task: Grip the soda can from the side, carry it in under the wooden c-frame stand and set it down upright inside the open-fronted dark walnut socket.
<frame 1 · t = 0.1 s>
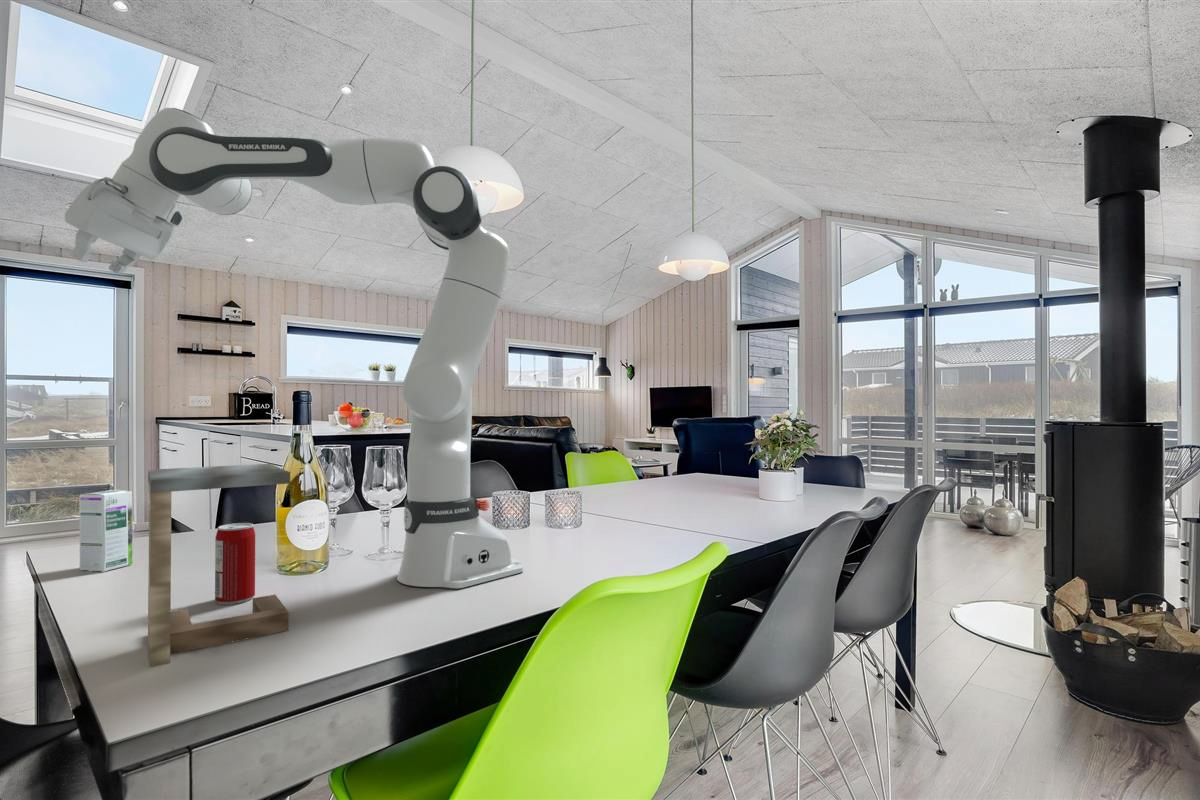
hand: (97, 266, 103), 54 cm above the table, tool tilted 30°, fingers open, 8 cm apart
wooden c-frame stand: (223, 627, 86), on the table
syrup box: (105, 568, 117), on the table
socket: (223, 627, 86), on the table
soda can: (235, 600, 98), on the table
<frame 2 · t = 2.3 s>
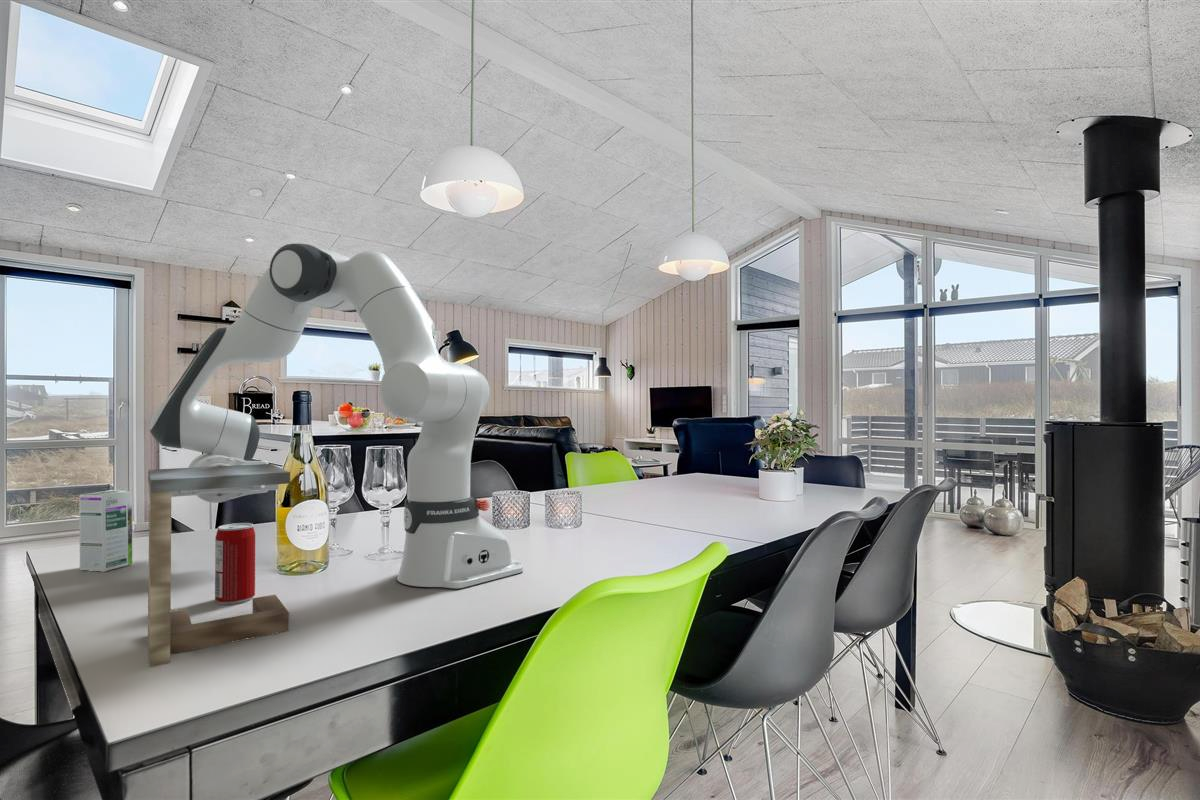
hand: (226, 486, 108), 17 cm above the table, tool horizontal, fingers open, 8 cm apart
nothing on the table moved.
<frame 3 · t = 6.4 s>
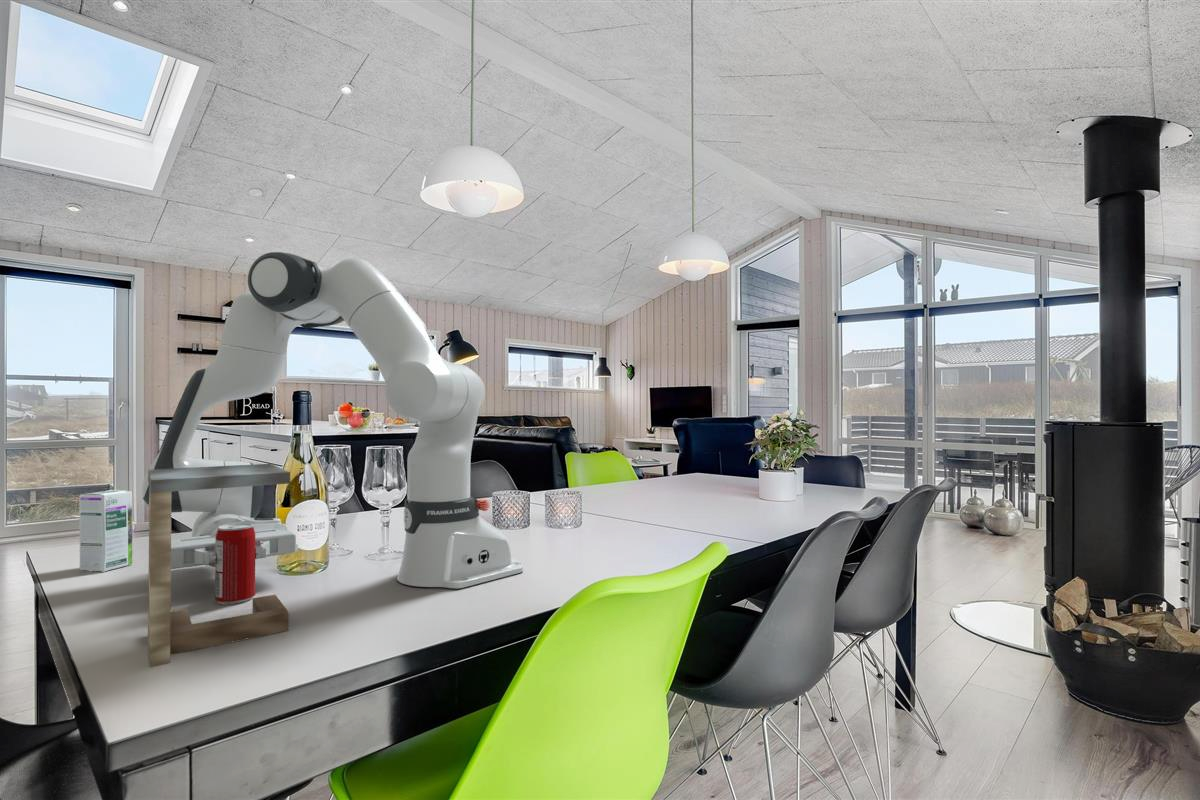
hand: (236, 556, 97), 7 cm above the table, tool horizontal, fingers closed on soda can, 5 cm apart
soda can: (235, 600, 98), on the table, touching gripper
everything else where it was.
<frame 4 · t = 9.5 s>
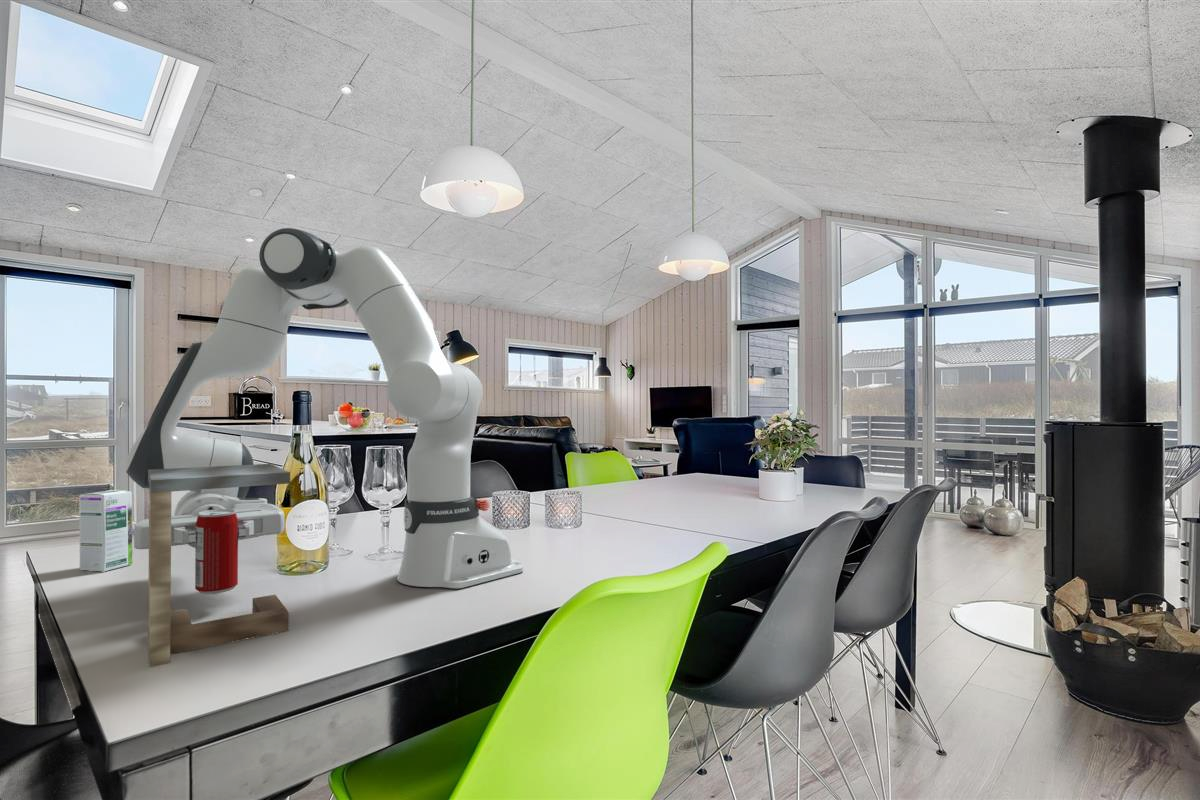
hand: (217, 535, 93), 11 cm above the table, tool horizontal, fingers closed on soda can, 5 cm apart
soda can: (216, 590, 94), point 3 cm above the table, touching gripper
everything else where it was.
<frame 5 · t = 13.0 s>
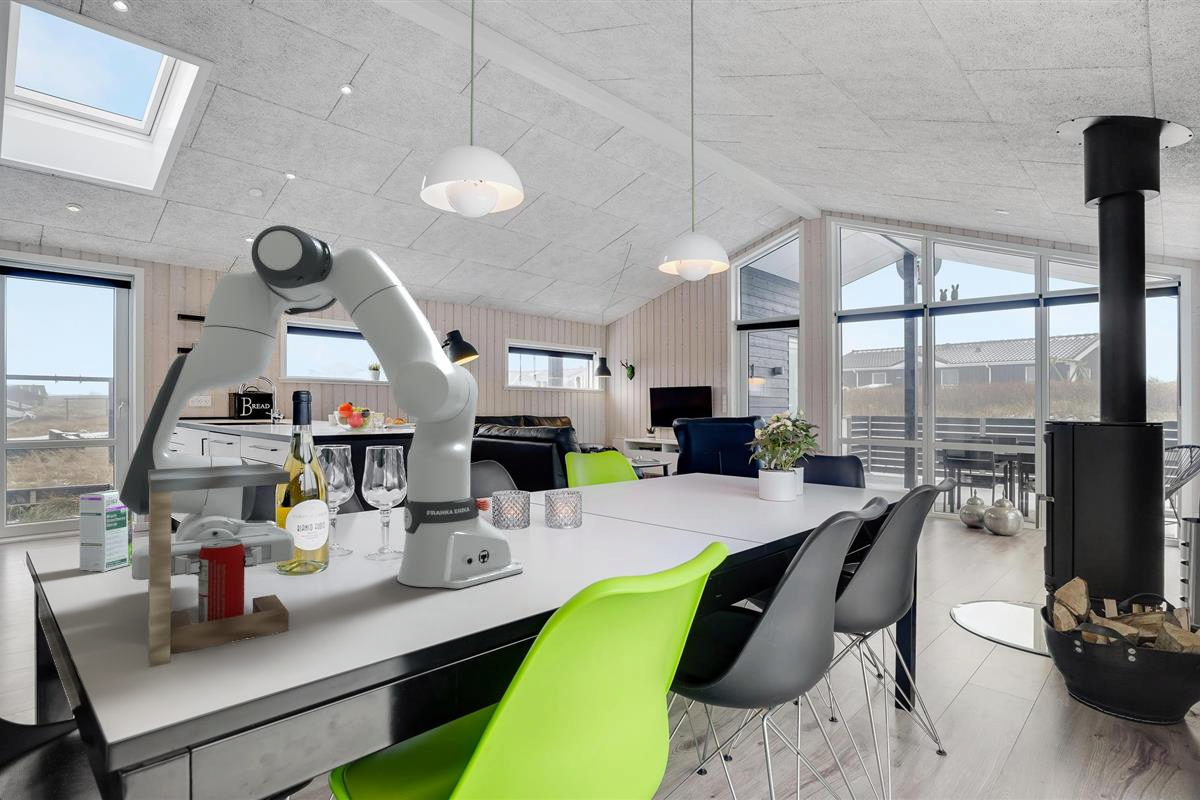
hand: (223, 564, 85), 9 cm above the table, tool horizontal, fingers closed on soda can, 5 cm apart
soda can: (221, 627, 86), on the table, touching gripper
everything else where it was.
when the fingers open (9 cm above the table, at t = 13.5 s): soda can stays where it is, on the table.
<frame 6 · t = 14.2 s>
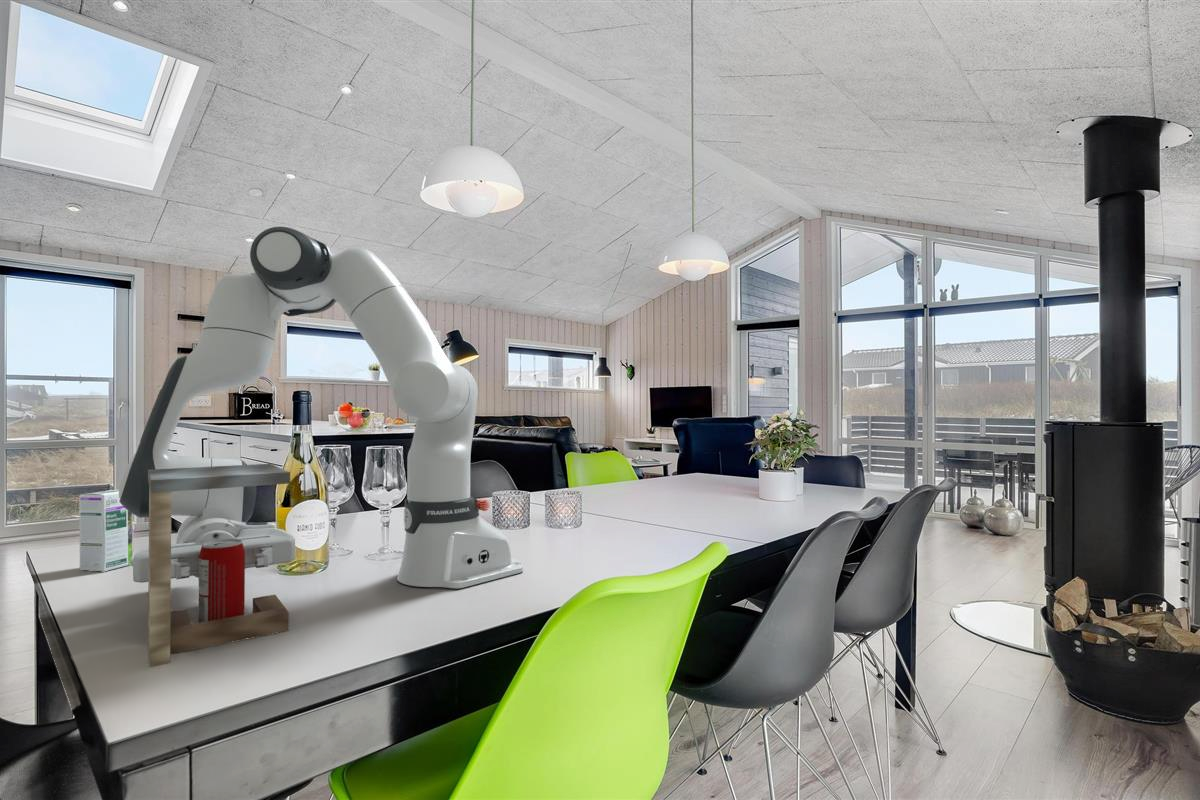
hand: (224, 566, 85), 9 cm above the table, tool horizontal, fingers open, 8 cm apart
soda can: (221, 627, 86), on the table
everything else where it was.
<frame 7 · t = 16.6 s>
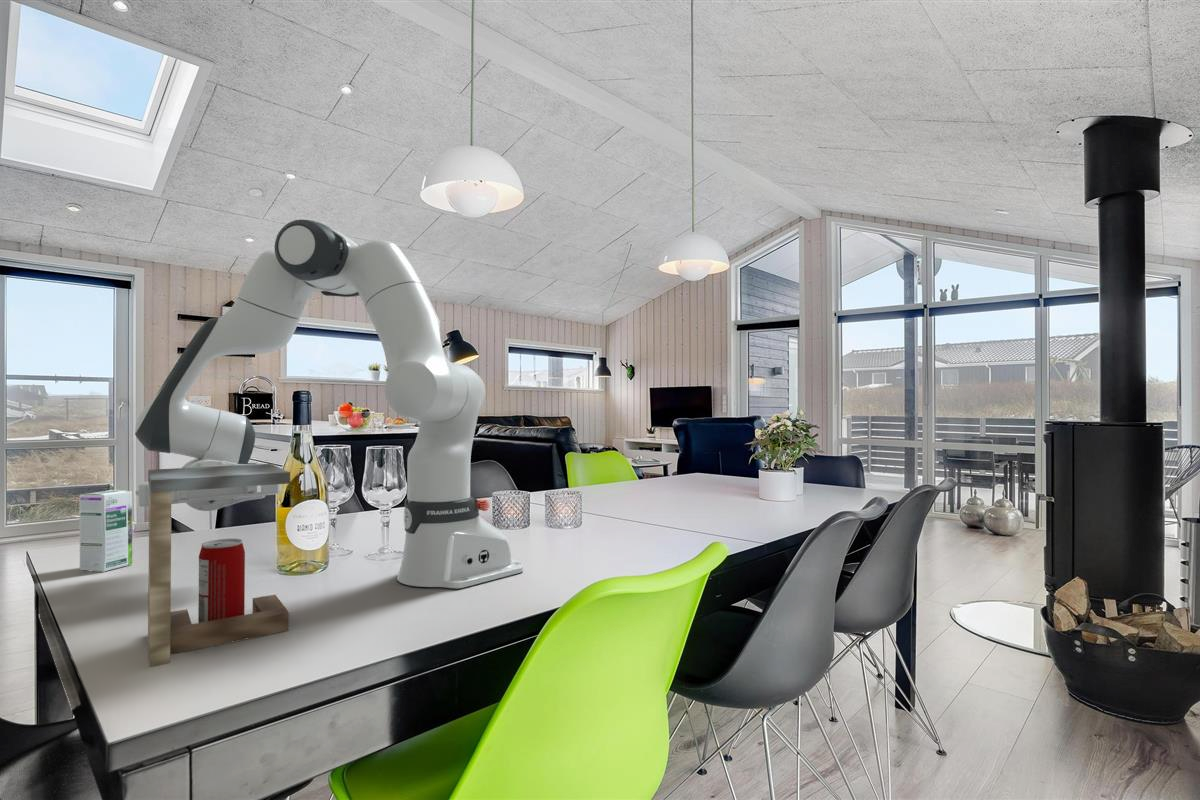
hand: (218, 491, 98), 17 cm above the table, tool horizontal, fingers open, 8 cm apart
nothing on the table moved.
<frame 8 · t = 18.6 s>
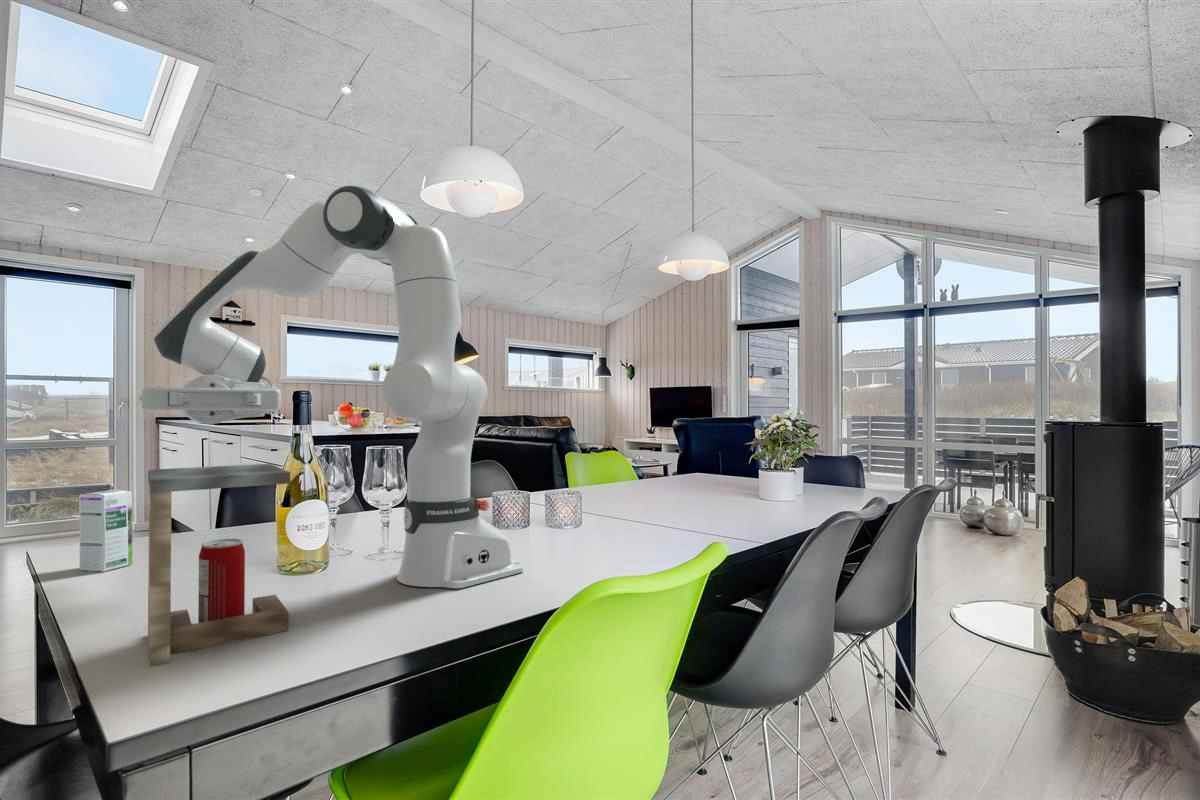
hand: (219, 398, 100), 32 cm above the table, tool horizontal, fingers open, 8 cm apart
nothing on the table moved.
at the end: soda can 0.8 cm off-centre on the socket, point 0.0 cm above the socket's base; soda can tilted 0°; the gripper is holding nothing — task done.
